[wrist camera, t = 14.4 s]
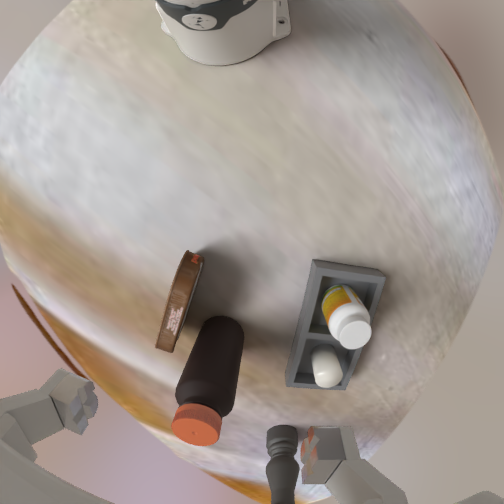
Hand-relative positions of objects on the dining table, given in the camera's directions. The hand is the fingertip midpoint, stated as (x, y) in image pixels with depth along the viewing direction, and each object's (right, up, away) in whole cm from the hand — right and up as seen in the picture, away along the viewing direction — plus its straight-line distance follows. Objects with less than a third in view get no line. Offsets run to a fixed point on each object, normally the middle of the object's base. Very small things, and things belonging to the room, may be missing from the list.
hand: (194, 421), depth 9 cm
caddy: (+14, -5, +33) cm, 36 cm away
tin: (-8, 0, +33) cm, 34 cm away
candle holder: (+8, -31, +40) cm, 51 cm away
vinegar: (-3, -7, +35) cm, 35 cm away
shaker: (+13, -10, +33) cm, 37 cm away
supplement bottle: (+14, -1, +31) cm, 34 cm away
